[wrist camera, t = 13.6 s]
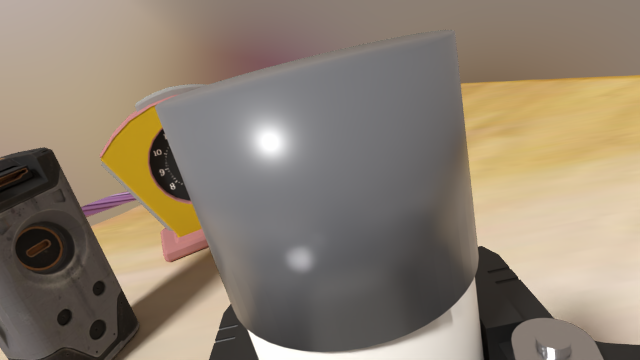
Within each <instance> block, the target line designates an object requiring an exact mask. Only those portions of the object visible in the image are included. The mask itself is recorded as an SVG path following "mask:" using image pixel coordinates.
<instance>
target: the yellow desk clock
mask: <svg viewBox="0 0 640 360" xmlns="http://www.w3.org/2000/svg"><path fill="white" fill-rule="evenodd" d="M203 86H206V85H204V84H203V85H202V84H190V85H180V86H174V87H168V88H166V89H163V90H160V91H158V92H155V93H153V94H151V95H149V96H147V97H145V98H143V99H142V100H140V101H139V102H137V103H136V105H135V107H136V110H137V111H135V112H134V113H132V114H131V115H129V116H128V117H127V118H126V119H125V121H124V122H123V123H122V124H121V125H120V126H119V127H118V128H117V129H116V130H115V131H114V133H113V134H112V136H111V138H110V139H109V141H108V142H107V144H106V145H105V147H104V149H103V151H102V152H101V154H100V158H101V161H102V166H103V167H104V168H105V169H106V170H107V171H108V172H109V173H110V174H111V175H112V176H113V177H114V178H115V179H116V180H117V181H118V182H119V183H120V184H121V185H123V187H124V188H125V189H126V190H127V191H128V192H129V193H130V194H132V195H133V196H134V197H135V198H136V199H137V200H138V201H139V202H140V203H141V204H142V205H143V206H144V207H145V208H146V209H147V210H148V211H149V212H150V213H151V214H152V215H153V216H154V217H155V218H156V219H157V220H158V221H159V222H160V223H161V224H162V225H163V226H164V227H166V228H165V229H163V230H162V231H161V239H162V247H163V255H164V257H165V260H166V261H168V262H172V261H174V260H177V259H179V258H182V257H184V256H187V255H189V254H192V253H194V252H196V251H199V250H201V249H204V248H206V247H209V245H208V243H207V240H206V238H205V235H204V233H203V230H202V227H201V225H200V222H199V220H198V217H197V215H196V212H195V209H194V207H193V204H192V202H191V199H190V197H189V194H188V191H187V189H186V186H185V184H184V181H183V179H182V176H181V173H180V171H179V168H178V166H177V163H176V161H175V158H174V155H173V153H172V150H171V148H170V145H169V143H168V140H167V137H166V135H165V132H164V130H163V127H162V125H161V122H160V119H159V117H158V114H157V112H156V109H155V106H156V105H157V104H159V103H160V102H162V101H164V100H167V99H169V98H172V97H174V96H177V95H180V94H182V93H185V92H188V91H191V90H194V89H197V88H200V87H203Z"/></svg>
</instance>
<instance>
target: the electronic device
mask: <svg viewBox="0 0 640 360" xmlns="http://www.w3.org/2000/svg"><path fill="white" fill-rule="evenodd" d="M138 327H139V323H138V321H137V319H136V317H135V315H134V313H133V311H132V309H131V307H130V305H129V303H128V301H127V299H126V297H125V295H124V293H123V291H122V289H121V287H120V285H119V283H118V281H117V279H116V277H115V275H114V273H113V271H112V269H111V267H110V265H109V263H108V261H107V259H106V257H105V255H104V253H103V251H102V249H101V247H100V245H99V243H98V241H97V239H96V237H95V235H94V233H93V231H92V229H91V227H90V225H89V223H88V221H87V219H86V217H85V215H84V213H83V211H82V209H81V207H80V205H79V203H78V201H77V199H76V197H75V195H74V193H73V191H72V189H71V187H70V185H69V183H68V181H67V179H66V177H65V175H64V173H63V171H62V169H61V167H60V165H59V163H58V161H57V159H56V157H55V155H54V153H53V151H52V150H50V149H47V148H38V149H33V150H28V151H23V152H18V153H14V154H10V155H7V156H4V157H1V158H0V348H1V349H2V351H3V352H4V354H5V355H6V357H7V358H8V359H9V360H112V359H113V358H114V357H115V356H116V354H117V353H118V352H119V351H120V350H121V349H122V348H123V347H124V346H125V345H126V343H127V342H128V341H129V340H130V339H131V338H132V337H133V336H134V334H135V333H136V331H137V329H138Z"/></svg>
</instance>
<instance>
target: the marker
mask: <svg viewBox="0 0 640 360" xmlns="http://www.w3.org/2000/svg"><path fill="white" fill-rule="evenodd" d="M155 109H156V112H157V114H158V117H159V119H160V122H161V125H162V127H163V130H164V132H165V135H166V137H167V140H168V143H169V145H170V148H171V150H172V153H173V155H174V158H175V161H176V163H177V166H178V168H179V171H180V173H181V176H182V179H183V181H184V184H185V186H186V189H187V191H188V194H189V197H190V199H191V202H192V204H193V207H194V209H195V212H196V215H197V217H198V220H199V222H200V225H201V227H202V230H203V233H204V235H205V238H206V240H207V243H208V245H209V248H210V251H211V253H212V256H213V258H214V261H215V264H216V266H217V269H218V271H219V274H220V276H221V279H222V282H223V284H224V287H225V289H226V292H227V294H228V297H229V300H230V302H231V305H232V307H233V310H234V312H235V314H236V316H237V318H238V320H239V321H240V322H241V323H242V324H243V325H244V327H245V328H246V329H247V330H248V332H249V335H250V337H251V340H252V343H253V345H254V348H255V351H256V353H257V356H258V358H259V360H484V355H483V346H482V337H481V328H480V319H479V310H478V302H477V293H476V284H475V274H476V271H477V268H478V260H479V254H478V245H477V236H476V226H475V217H474V207H473V198H472V188H471V179H470V169H469V160H468V151H467V141H466V132H465V122H464V113H463V103H462V94H461V84H460V75H459V66H458V56H457V47H456V37H455V31H453V30H441V31H432V32H425V33H418V34H413V35H407V36H401V37H397V38H391V39H386V40H381V41H376V42H372V43H367V44H362V45H358V46H353V47H349V48H345V49H340V50H336V51H332V52H328V53H324V54H319V55H315V56H311V57H307V58H303V59H299V60H295V61H291V62H287V63H284V64H280V65H276V66H272V67H268V68H265V69H261V70H257V71H254V72H250V73H247V74H243V75H240V76H236V77H233V78H229V79H226V80H223V81H219V82H216V83H213V84H210V85H206V86H203V87H200V88H197V89H194V90H191V91H188V92H185V93H182V94H180V95H177V96H174V97H172V98H169V99H167V100H164V101H162V102H160V103H159V104H157V105H156V106H155Z"/></svg>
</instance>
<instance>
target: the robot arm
mask: <svg viewBox="0 0 640 360" xmlns="http://www.w3.org/2000/svg"><path fill="white" fill-rule="evenodd" d="M478 254H479V260H478V268H477V271H476V274H475V284H476V293H477V302H478V310H479V319H480V328H481V337H482V346H483V355H484V360H640V345H629V344H612V343H603V342H598V341H594V340H593V339H592V338H591V337H590V336H589V335H588V334H587V333H586V332H585V331H583V330H582V329H580V328H579V327H577V326H575V325H573V324H571V323H568V322H565V321H562V320H558V319H554V318H553V317H552V316H551V314H550V313H549V312H548V311H547V310H546V309H545V307H544V306H543V305H542V304H541V303H540V302H539V301H538V299H537V298H536V297H535V296H534V295H533V294H532V293H531V291H530V290H529V289H528V288H527V287H526V286H525V284H524V283H523V282H522V281H521V280H519V279H518V276H517V275H516V274H515V273H514V272H513V271H512V270H511V269H510V268H509V266H508V265H507V264H506V263H505V262H504V260H503V259H502V258H501V257H500V256H499V255H498V254H496V253H494V252H492V251H490V250H488V249H487V248H485V247H483V246H480V247H478ZM215 341H216V343H214V346H213V349H212V352H211V355H210V359H209V360H259V358H258V356H257V353H256V351H255V348H254V345H253V343H252V340H251V337H250V335H249V332H248V330H247V329H246V328H245V327H244V325H243V324H242V323H241V322H240V321H239V320H238V318H237V316H236V314H235V312H234V310H233V307H232V305H230V306H229V307H228V308H227V310H226V311H225V312H224V314H223V317H222V320H221V323H220V327H219V331H218V333H217V336H216V339H215Z"/></svg>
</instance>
